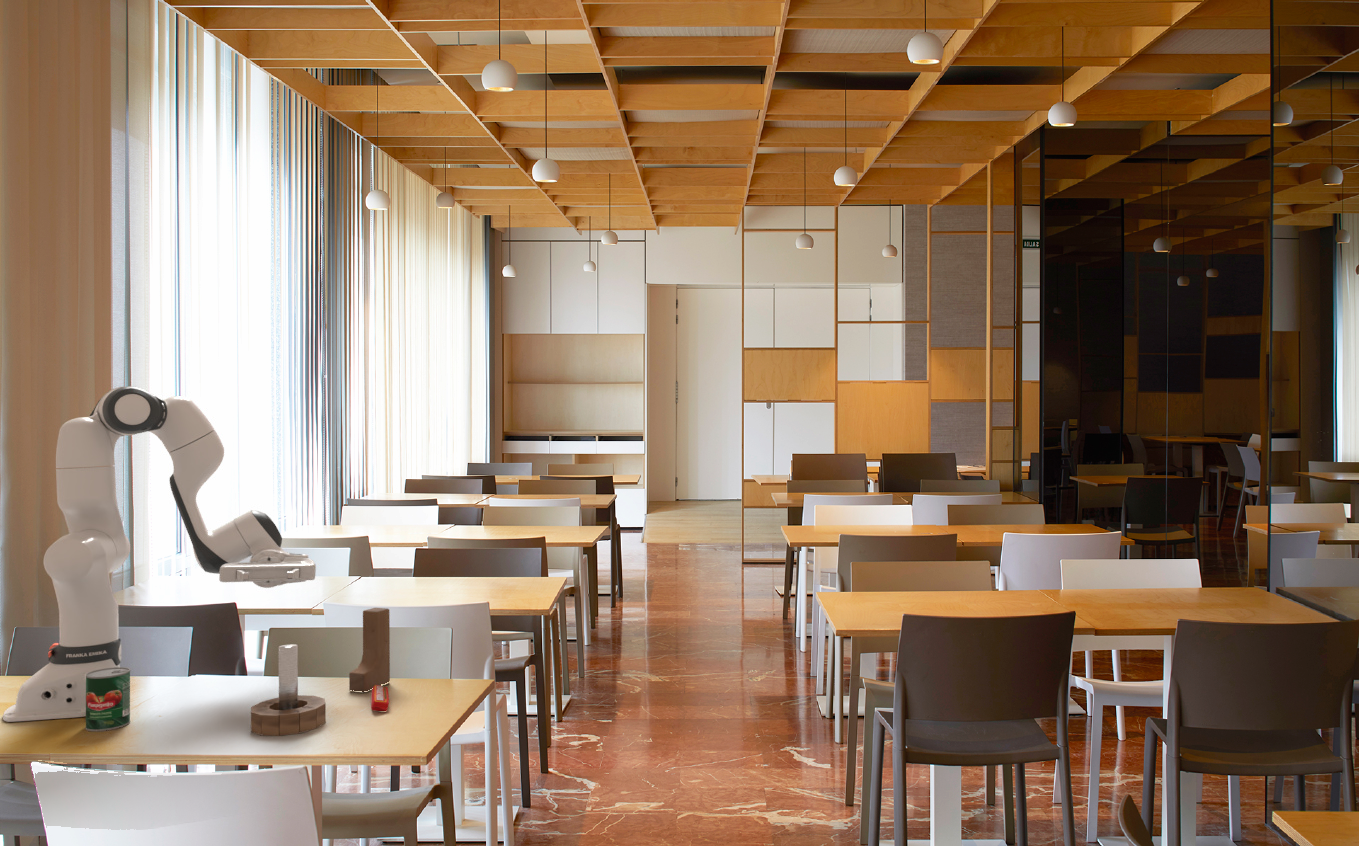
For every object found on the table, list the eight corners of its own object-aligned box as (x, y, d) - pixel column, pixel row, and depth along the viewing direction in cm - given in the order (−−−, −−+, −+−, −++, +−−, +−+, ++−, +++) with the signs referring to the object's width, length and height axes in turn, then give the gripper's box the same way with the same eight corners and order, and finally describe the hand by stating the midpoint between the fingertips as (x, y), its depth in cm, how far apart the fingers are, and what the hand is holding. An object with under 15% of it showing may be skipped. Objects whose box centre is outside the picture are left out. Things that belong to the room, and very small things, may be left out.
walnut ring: (250, 739, 180) (250, 719, 180) (251, 719, 193) (251, 700, 193) (327, 729, 186) (327, 709, 186) (323, 710, 198) (323, 692, 198)
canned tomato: (86, 734, 184) (86, 679, 185) (84, 724, 191) (84, 671, 191) (132, 726, 189) (132, 672, 189) (128, 717, 195) (128, 665, 196)
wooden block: (363, 693, 212) (363, 615, 212) (348, 691, 213) (348, 613, 214) (390, 683, 220) (390, 608, 220) (375, 682, 222) (375, 607, 222)
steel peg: (279, 728, 187) (278, 649, 187) (278, 723, 190) (278, 645, 190) (298, 725, 188) (297, 647, 189) (297, 721, 192) (297, 643, 192)
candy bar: (389, 714, 197) (389, 700, 197) (371, 716, 195) (371, 702, 196) (388, 694, 212) (388, 681, 212) (371, 696, 211) (371, 683, 211)
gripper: (220, 555, 215) (217, 563, 202) (314, 554, 223) (317, 561, 210) (219, 582, 215) (215, 592, 202) (313, 580, 223) (315, 589, 210)
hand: (268, 576), depth 206 cm, fingers open, 8 cm apart
